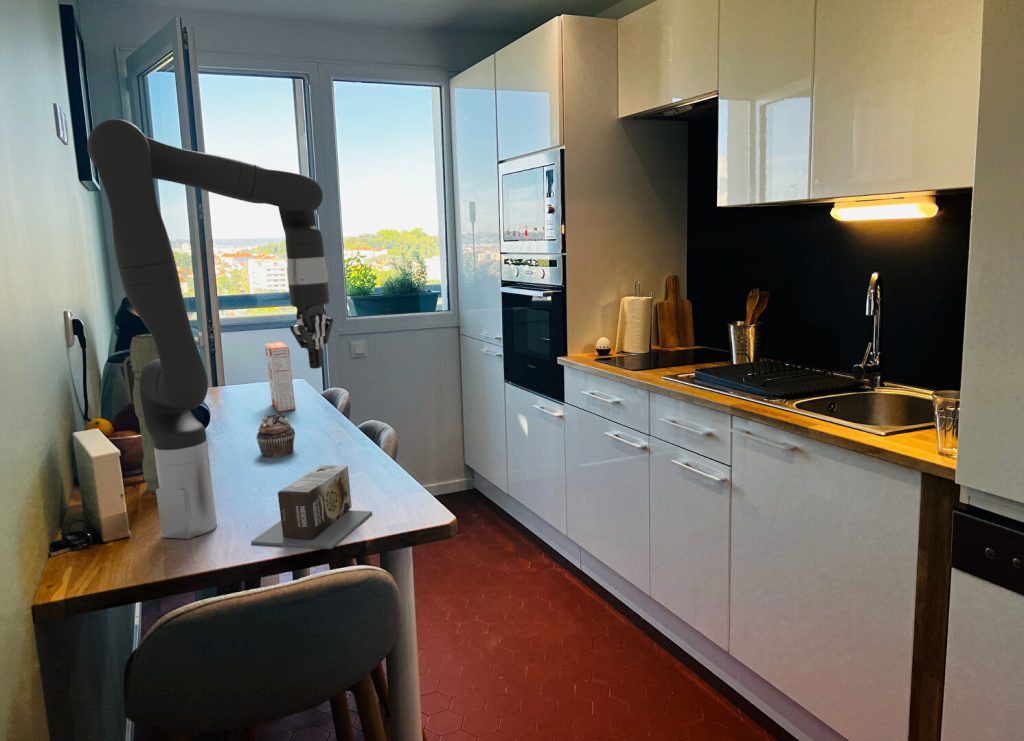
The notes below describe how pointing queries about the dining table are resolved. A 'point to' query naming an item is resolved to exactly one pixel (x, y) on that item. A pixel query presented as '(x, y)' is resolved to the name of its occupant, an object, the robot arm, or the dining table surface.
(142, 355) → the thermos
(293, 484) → the coffee box
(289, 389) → the cracker box
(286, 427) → the cupcake
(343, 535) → the mat
